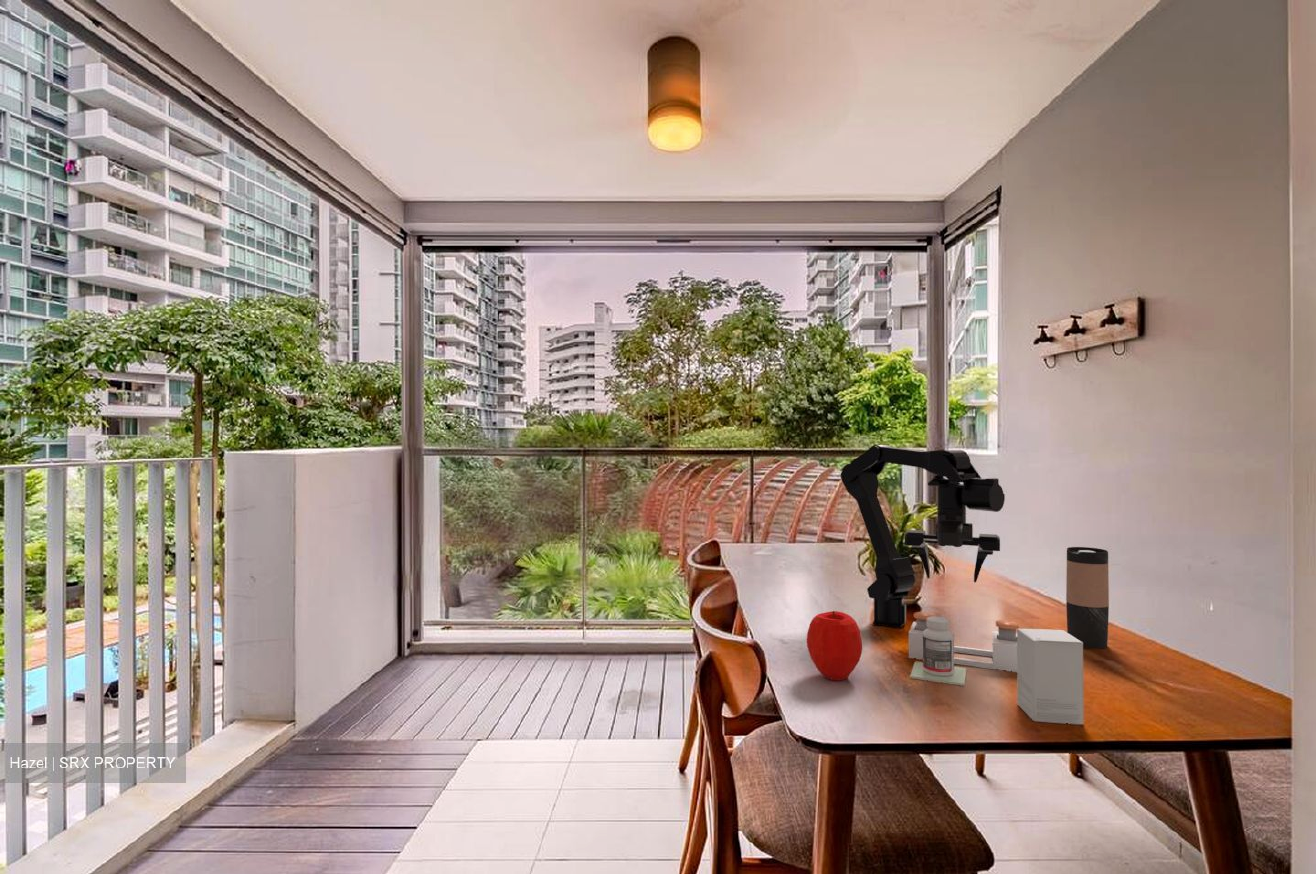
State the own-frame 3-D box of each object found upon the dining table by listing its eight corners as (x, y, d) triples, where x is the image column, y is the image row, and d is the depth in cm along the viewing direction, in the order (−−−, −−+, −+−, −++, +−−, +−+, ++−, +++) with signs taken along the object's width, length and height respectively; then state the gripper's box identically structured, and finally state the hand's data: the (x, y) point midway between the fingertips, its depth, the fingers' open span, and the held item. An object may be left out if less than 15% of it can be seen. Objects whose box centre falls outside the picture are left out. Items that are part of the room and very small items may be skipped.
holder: (908, 657, 135) (908, 632, 135) (913, 645, 144) (913, 621, 144) (1022, 673, 127) (1022, 646, 127) (1020, 659, 135) (1020, 633, 135)
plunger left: (912, 640, 138) (912, 615, 138) (914, 635, 141) (914, 611, 141) (934, 643, 136) (934, 618, 136) (935, 637, 139) (935, 613, 139)
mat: (910, 678, 124) (910, 675, 124) (915, 663, 132) (915, 661, 132) (964, 686, 120) (964, 683, 120) (966, 670, 128) (966, 668, 128)
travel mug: (1105, 641, 147) (1105, 548, 147) (1112, 651, 140) (1111, 553, 140) (1064, 637, 150) (1064, 545, 150) (1068, 646, 143) (1068, 551, 143)
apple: (813, 665, 131) (813, 601, 131) (866, 672, 127) (866, 607, 127) (800, 681, 122) (800, 613, 122) (857, 690, 118) (857, 620, 118)
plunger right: (995, 650, 131) (995, 624, 131) (995, 644, 134) (995, 619, 134) (1019, 653, 129) (1019, 627, 129) (1018, 647, 133) (1018, 622, 133)
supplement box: (1085, 725, 104) (1085, 642, 104) (1032, 722, 105) (1032, 640, 105) (1065, 707, 111) (1064, 629, 111) (1015, 703, 112) (1015, 627, 112)
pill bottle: (928, 665, 130) (928, 613, 130) (958, 671, 126) (958, 618, 126) (918, 672, 126) (918, 619, 126) (948, 679, 122) (948, 624, 122)
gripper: (901, 509, 144) (901, 583, 144) (1000, 513, 136) (1000, 592, 136) (907, 504, 154) (907, 573, 154) (999, 508, 146) (999, 581, 146)
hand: (951, 580), depth 147 cm, fingers open, 9 cm apart
